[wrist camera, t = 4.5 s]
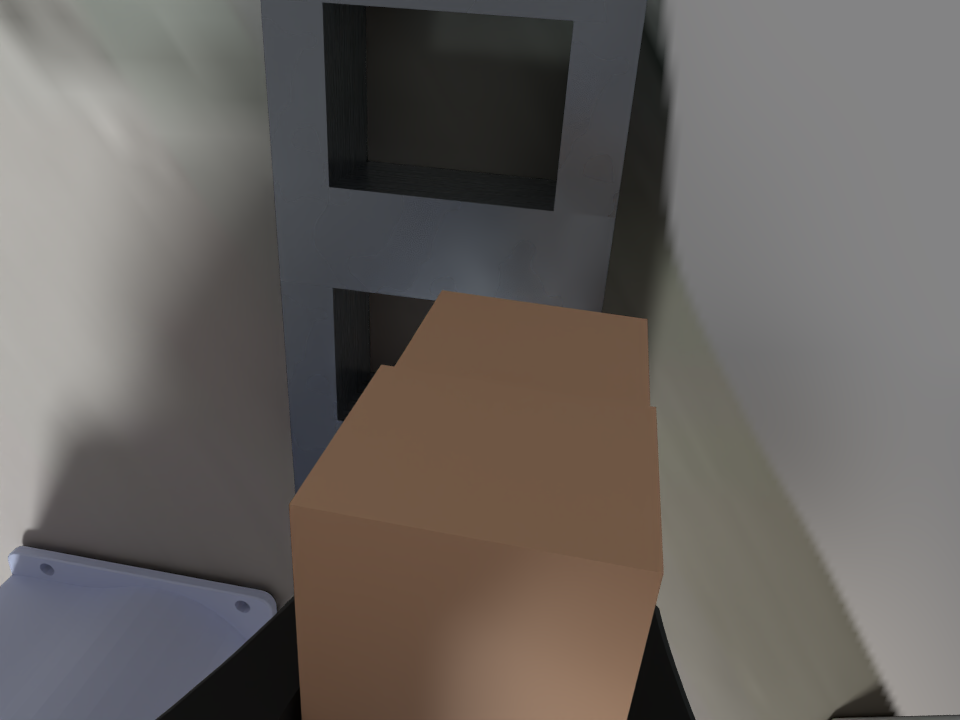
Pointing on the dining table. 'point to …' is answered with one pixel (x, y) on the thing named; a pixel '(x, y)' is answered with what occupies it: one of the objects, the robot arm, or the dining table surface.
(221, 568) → the dining table surface
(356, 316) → the grey slotted tray
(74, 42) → the dining table surface
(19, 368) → the dining table surface
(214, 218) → the dining table surface
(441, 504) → the tan block
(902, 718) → the jar
